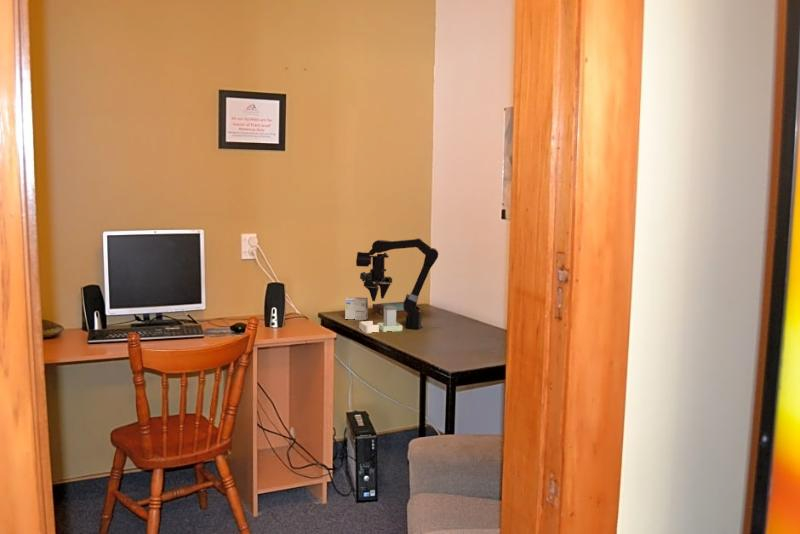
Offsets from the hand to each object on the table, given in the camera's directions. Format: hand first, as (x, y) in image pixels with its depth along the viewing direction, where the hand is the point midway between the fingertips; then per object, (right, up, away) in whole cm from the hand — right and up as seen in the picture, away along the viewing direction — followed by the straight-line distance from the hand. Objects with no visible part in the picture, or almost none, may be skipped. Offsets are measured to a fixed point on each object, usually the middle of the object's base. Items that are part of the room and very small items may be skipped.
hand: (378, 299), depth 335 cm
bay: (-3, -14, -7) cm, 16 cm away
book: (+9, -10, +33) cm, 36 cm away
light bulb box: (-11, -11, +20) cm, 25 cm away
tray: (+6, -14, -4) cm, 15 cm away
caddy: (+6, -13, -4) cm, 15 cm away
